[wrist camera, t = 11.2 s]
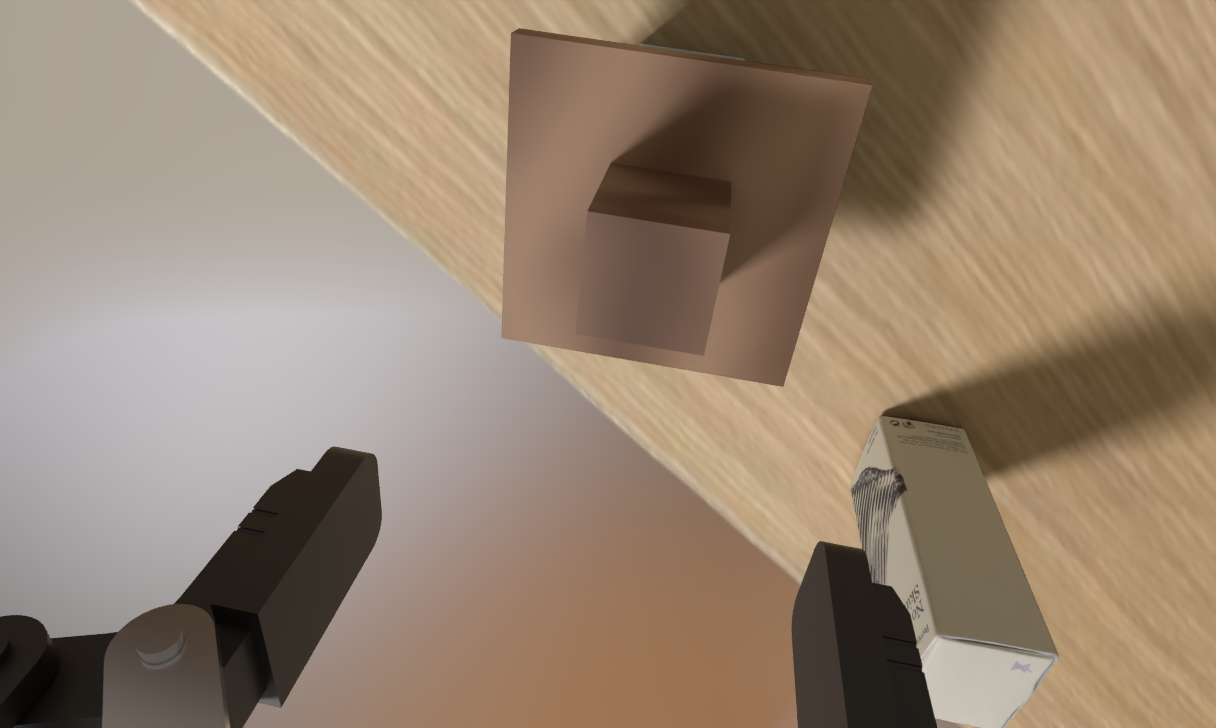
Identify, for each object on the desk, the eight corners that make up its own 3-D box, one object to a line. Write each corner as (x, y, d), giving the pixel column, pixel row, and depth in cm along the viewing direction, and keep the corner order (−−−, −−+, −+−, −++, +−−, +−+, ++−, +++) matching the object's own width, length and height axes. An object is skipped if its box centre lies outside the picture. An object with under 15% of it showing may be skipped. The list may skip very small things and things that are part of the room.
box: (876, 410, 36) (937, 629, 25) (967, 426, 35) (1068, 654, 25) (846, 489, 38) (888, 715, 28) (929, 504, 38) (1004, 739, 27)
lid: (867, 78, 22) (901, 124, 18) (781, 372, 28) (790, 463, 24) (519, 28, 23) (464, 59, 18) (508, 325, 29) (465, 404, 24)
